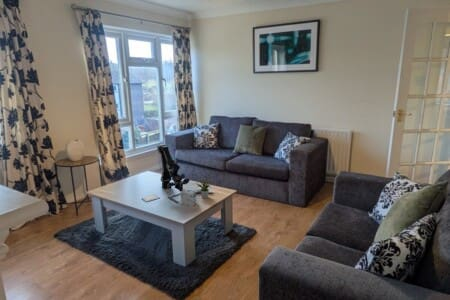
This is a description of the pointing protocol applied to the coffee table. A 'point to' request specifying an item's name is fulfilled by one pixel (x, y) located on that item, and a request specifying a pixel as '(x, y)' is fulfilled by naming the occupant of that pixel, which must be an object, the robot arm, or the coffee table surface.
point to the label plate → (150, 198)
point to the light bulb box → (188, 197)
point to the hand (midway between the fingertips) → (182, 192)
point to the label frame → (174, 199)
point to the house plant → (204, 188)
